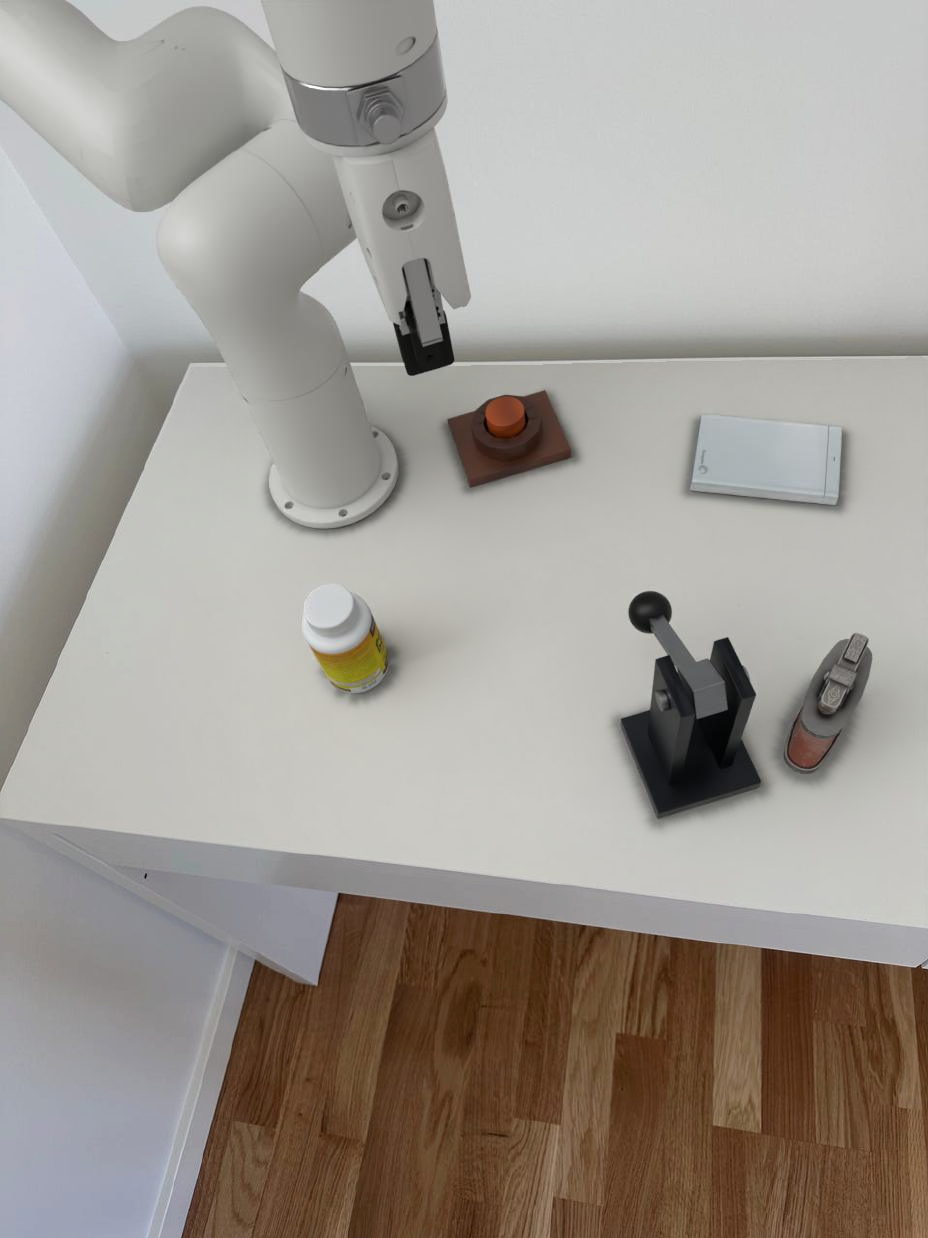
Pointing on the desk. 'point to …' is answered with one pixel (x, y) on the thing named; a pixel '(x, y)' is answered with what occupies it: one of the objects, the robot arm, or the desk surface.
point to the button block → (509, 441)
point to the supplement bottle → (344, 638)
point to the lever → (680, 654)
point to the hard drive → (768, 459)
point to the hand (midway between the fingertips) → (428, 361)
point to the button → (505, 417)
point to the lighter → (828, 704)
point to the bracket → (693, 739)
